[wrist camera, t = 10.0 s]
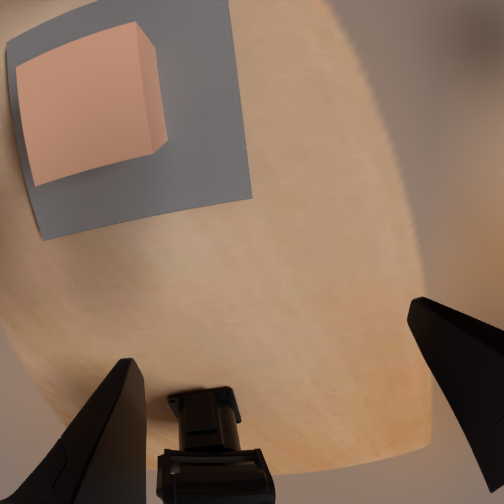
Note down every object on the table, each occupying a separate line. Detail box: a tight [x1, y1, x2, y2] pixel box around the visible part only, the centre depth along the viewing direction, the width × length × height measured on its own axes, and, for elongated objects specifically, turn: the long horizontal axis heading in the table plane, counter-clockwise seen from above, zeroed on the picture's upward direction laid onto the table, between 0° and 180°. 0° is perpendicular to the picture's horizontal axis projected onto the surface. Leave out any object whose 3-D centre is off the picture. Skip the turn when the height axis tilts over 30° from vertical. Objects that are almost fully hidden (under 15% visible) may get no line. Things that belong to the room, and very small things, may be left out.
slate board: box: [7, 0, 252, 241], centre depth 14 cm, size 14×14×1 cm
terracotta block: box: [16, 21, 168, 187], centre depth 11 cm, size 6×6×6 cm
